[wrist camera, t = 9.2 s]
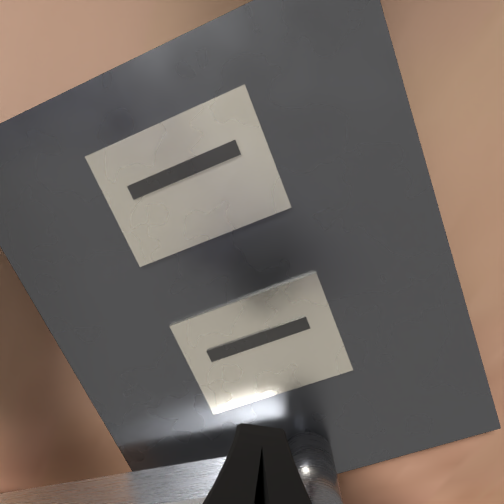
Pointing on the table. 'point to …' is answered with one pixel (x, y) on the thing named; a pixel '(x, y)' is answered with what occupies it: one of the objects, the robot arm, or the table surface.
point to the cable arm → (186, 481)
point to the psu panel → (247, 243)
